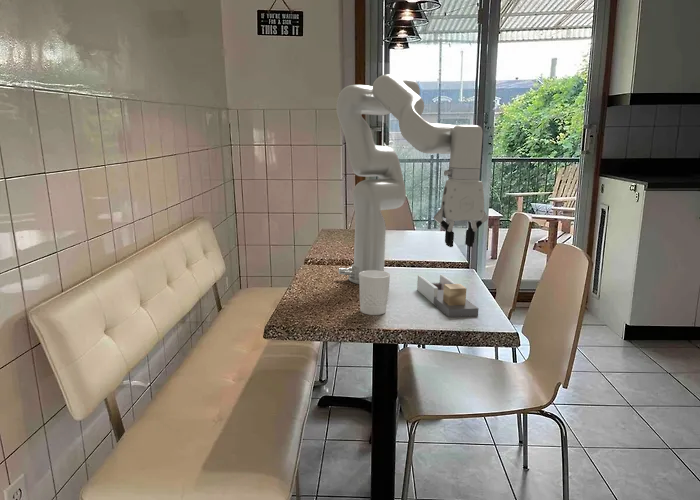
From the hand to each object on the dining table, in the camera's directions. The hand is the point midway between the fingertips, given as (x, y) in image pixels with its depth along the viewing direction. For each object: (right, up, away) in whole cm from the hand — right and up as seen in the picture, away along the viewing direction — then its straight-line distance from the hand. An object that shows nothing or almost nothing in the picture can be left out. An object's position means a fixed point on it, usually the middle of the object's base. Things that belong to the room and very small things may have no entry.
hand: (459, 245), depth 139 cm
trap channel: (-2, -16, +10) cm, 18 cm away
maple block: (-1, -15, +3) cm, 15 cm away
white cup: (-22, -17, 0) cm, 28 cm away
